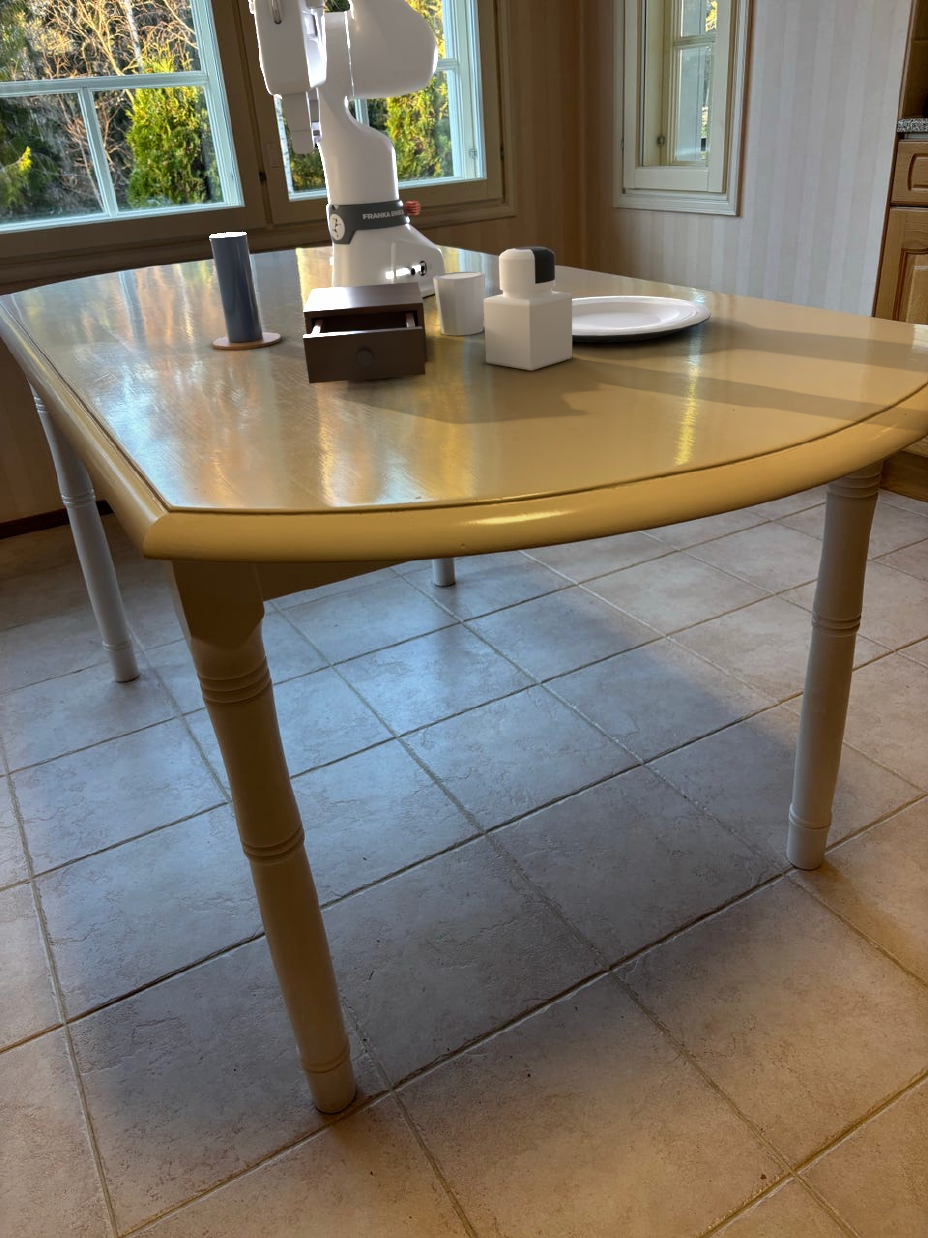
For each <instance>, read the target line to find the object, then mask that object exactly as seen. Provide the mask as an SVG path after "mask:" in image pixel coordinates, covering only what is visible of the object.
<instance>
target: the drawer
mask: <svg viewBox="0 0 928 1238" xmlns="http://www.w3.org/2000/svg"><path fill="white" fill-rule="evenodd" d="M302 341H303V347H304V354H305V362H306V363H305V364H306V369H307V377H308V383H309V384H324V383H337V382H349V381H351V382H352V381H361V380H362V381H363V380H364V381H365V380H376V379H388V378H390V379H391V378H401V377H402V378H403V377H414V376H415V377H416V376H425V375H426V374H427V372H426V361H425V357H424V344H423V331H422V327H415V324H414V318H413V312H412V311H399V312H385V313H371V314H358V315H344V316H330V317H317V320H316V323H315V326H314V329H313V332H312V335H307V334H304V335H303V337H302Z"/></svg>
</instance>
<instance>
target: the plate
mask: <svg viewBox="0 0 928 1238" xmlns="http://www.w3.org/2000/svg"><path fill="white" fill-rule="evenodd" d="M711 315H712V311H711V310H710V309H709V308H708V307H707V306H705V305H703V304H700V303H697V302H696V301H690V300H686V299H680V298H674V297H673V298H672V297H663V296H648V295H647V296H644V295H610V296H609V295H608V296H607V295H605V296H590V297H578V298H572V342H576V343H593V344H594V343H599V344H600V343H601V344H604V343H605V344H607V343H609V344H611V343H629V342H637V341H638V342H639V341H648V340H652V339H658V338H662V337H666V336H670V335H674V334H676V333H678V332H680V331H684V330H687V329H690V328H693V327H697V326H699V325H701V324H703V323H705V322H707V321H708V320H709V319H710V317H711Z"/></svg>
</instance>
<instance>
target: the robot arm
mask: <svg viewBox="0 0 928 1238" xmlns="http://www.w3.org/2000/svg"><path fill="white" fill-rule="evenodd" d="M348 1H349V4H350V8H349V9H348V10H345V11H334V12H325V10H324V8H325V6H326V4H325V0H248V2H249V4H248V5H249V11H250V13H251V14H254V21H255V27H256V34H257V41H258V48H259V63H260V68H261V71H262V74H263V77H264V82H265V86H266V89H267V91H268V93H269V94H270V95H271V96H277V97H278V98H280V99H281V103H282V109H283V113H284V117H285V120H286V123H287V127H288V130H289V134H290V139H291V140H290V141H291V144H292V145H291V146H292V150H293V153H295V154H297V155H305V154H311V153H313V152H314V149H315V144H317V146H318V147H317V148H318V151H319V153H320V158H321V162H322V167H323V171H324V172H323V173H324V177H325V178H324V179H325V186H326V190H327V191H326V192H327V201H328V204H327V205H326V216H327V225H328V231H329V235H330V239H331V242H332V243H331V244H332V257H330V258H329V261H330V262H329V263H330V266H332V275H331V287H330V288H340V287H354V286H368V285H382V284H396V283H410V282H418V283H419V287H420V291H421V295H422V298H424V297H428V296H432V295H434V294H435V288H434V282H433V277H435V276H437V275H441V274H446V273H447V272H446V266H445V265H446V264H445V261H444V260H445V259H444V255H443V253H442V251H441V249H440V247H439V246H438V245H437V244H435V243H434V242H433V241H431V240H430V239H428V237H426V236H424V234H423V233H421V232H420V231H419V230H418V229H416V228H415V227H414V226H413V225H411V224H410V222H411V220H410V218H409V215H410V216H411V215H413V216H418V215H420V212H421V207H422V206H421V204H420V202H419V201H418V200H413V201H411V200H408V201H406V202H405V203H404V202H403V200H401V198H400V194H399V182H398V170H397V158H396V150H395V147H394V144H393V143H392V141H391V140H390V139H389V138H388V137H387V135H385V134H384V133H383V132H382V131H379V130H377V129H376V128H374V127H372V126H370V125H368V124H365V123H363V122H360V121H359V120H357V119H356V118H355V117H354V116H353V115H352V114H351V111H350V109H349V104H350V102H353V101H355V100H371V99H372V100H373V99H388V98H390V99H391V98H398V97H402V96H405V95H409V94H413V93H416V92H419V91H423V90H425V89H426V88H427V87H428V86H429V84H430V83H431V81H432V79H433V77H434V75H435V73H436V69H437V66H438V65H437V64H438V44H437V39H436V36H435V33H434V31H433V29H432V27H431V25H430V24H429V22H428V20H427V19H426V18H425V17H424V16H423V15H422V14H421V13H419V12H418V11H417V10H415V8H413V7H412V6H411V5H410V4H409V3H408V2H407V0H348Z"/></svg>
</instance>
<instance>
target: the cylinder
mask: <svg viewBox="0 0 928 1238" xmlns="http://www.w3.org/2000/svg"><path fill="white" fill-rule="evenodd" d="M209 240H210V245H211V246H210V247H211V252H212V253H211V254H212V257H213V264H214V267H215V268H214V270H215V273H216V274H215V275H216V280H217V286H218V290H219V292H218V293H219V296H220V297H219V298H220V302H221V309H222V313H223V321H224V324H225V325H224V326H225V331H226V336H228V341H229V342H232V343H247V342H253V341H258V340H260V339H262V338H263V334H262V332H263V329H262V322H261V321H262V320H261V315H260V310H259V304H258V298H257V292H256V285H255V279H254V272H253V266H252V260H251V259H252V258H251V254H250V247H249V242H248V236H247V233H246V232H226V233H225V232H224V233H217V234H211V235H210V236H209Z"/></svg>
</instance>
